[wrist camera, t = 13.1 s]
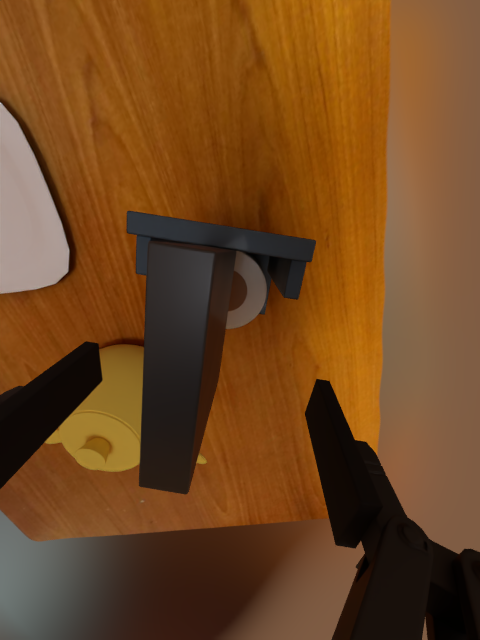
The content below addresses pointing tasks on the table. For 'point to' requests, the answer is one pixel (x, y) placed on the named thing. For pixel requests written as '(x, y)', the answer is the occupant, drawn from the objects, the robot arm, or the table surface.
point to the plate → (27, 217)
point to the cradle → (193, 328)
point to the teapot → (109, 415)
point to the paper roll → (246, 291)
